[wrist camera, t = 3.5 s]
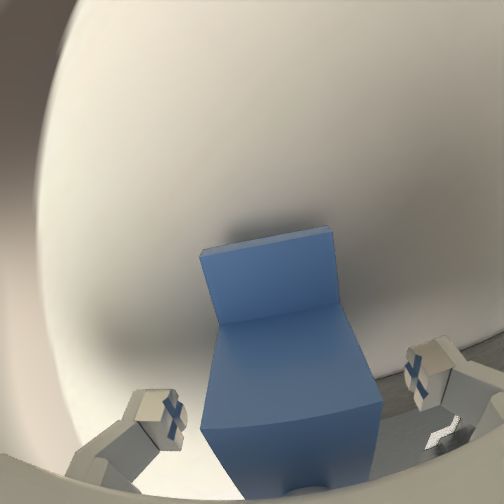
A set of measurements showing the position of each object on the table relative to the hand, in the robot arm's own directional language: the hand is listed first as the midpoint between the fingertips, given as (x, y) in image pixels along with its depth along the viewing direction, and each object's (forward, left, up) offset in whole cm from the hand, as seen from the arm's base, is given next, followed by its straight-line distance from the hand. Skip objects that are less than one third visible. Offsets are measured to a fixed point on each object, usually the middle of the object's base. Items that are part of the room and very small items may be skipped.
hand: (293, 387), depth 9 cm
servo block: (0, 0, -4) cm, 4 cm away
